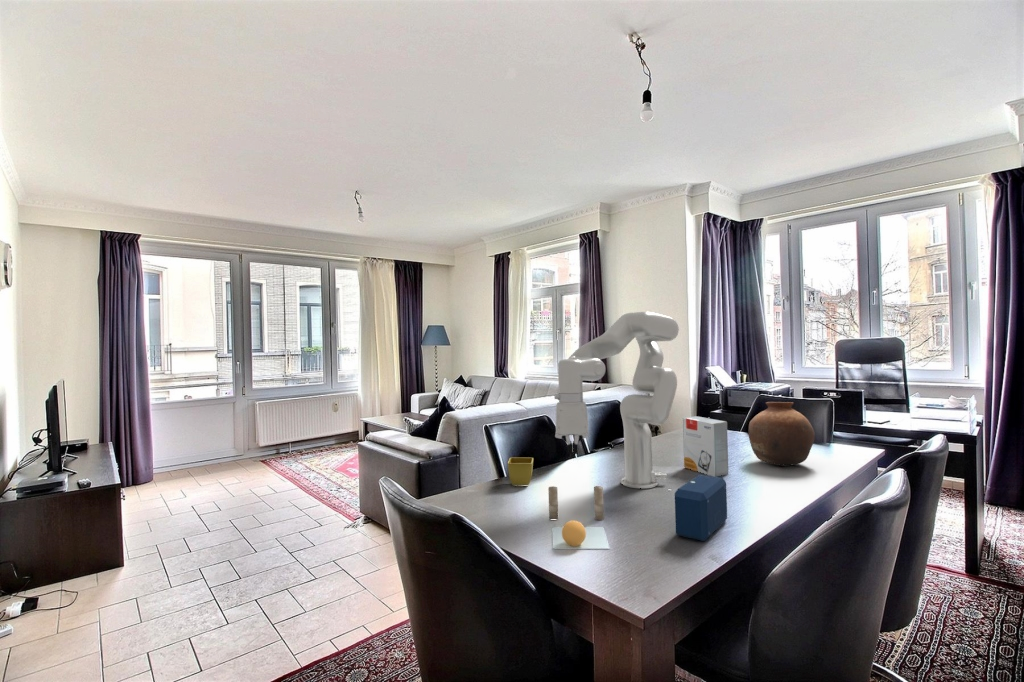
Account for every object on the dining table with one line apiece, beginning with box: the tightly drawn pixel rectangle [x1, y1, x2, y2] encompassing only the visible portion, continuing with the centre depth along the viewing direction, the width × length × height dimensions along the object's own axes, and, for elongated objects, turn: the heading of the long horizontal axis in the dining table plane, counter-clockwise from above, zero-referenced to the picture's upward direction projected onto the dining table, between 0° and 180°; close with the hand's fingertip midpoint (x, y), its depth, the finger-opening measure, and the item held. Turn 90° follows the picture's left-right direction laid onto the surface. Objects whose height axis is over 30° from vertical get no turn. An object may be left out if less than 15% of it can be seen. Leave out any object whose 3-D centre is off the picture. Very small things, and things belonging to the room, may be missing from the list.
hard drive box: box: [682, 415, 729, 477], centre depth 189 cm, size 16×8×20 cm, turn 25°
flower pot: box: [507, 457, 534, 486], centre depth 178 cm, size 9×9×9 cm
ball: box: [562, 520, 586, 546], centre depth 124 cm, size 6×6×6 cm
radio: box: [674, 451, 728, 542], centre depth 133 cm, size 21×9×20 cm, turn 141°
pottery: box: [748, 401, 816, 467], centre depth 195 cm, size 23×23×25 cm
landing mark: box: [551, 526, 611, 550], centre depth 129 cm, size 14×14×1 cm
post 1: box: [547, 485, 559, 520], centre depth 143 cm, size 3×3×9 cm
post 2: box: [593, 485, 605, 521], centre depth 142 cm, size 3×3×9 cm
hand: (572, 456), depth 156 cm, fingers closed
